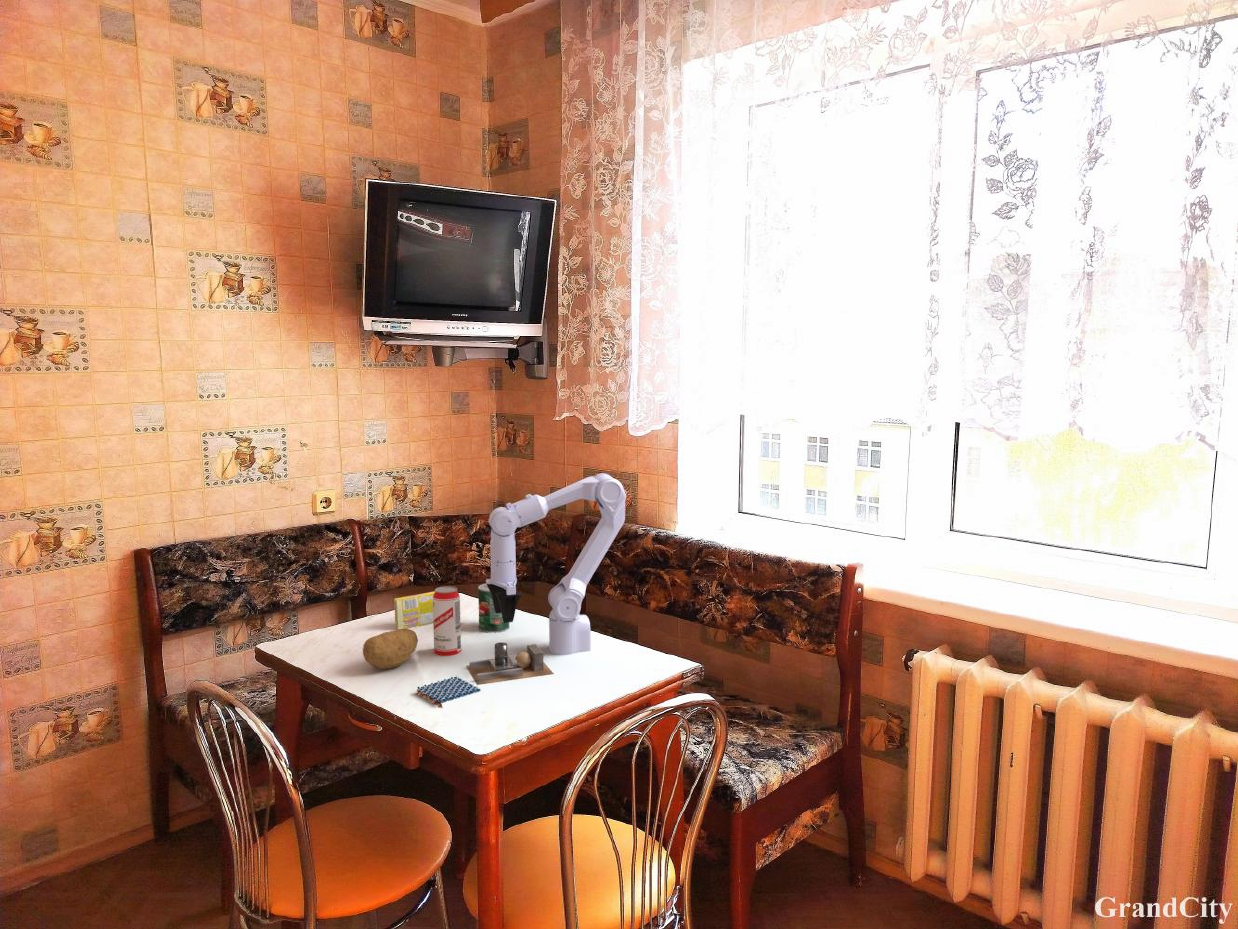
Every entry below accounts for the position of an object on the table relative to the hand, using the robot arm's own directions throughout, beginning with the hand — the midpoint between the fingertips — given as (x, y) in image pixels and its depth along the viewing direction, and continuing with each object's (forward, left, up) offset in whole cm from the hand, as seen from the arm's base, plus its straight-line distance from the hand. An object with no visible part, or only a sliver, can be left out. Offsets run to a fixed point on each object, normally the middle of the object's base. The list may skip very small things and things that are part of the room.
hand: (504, 617), depth 198 cm
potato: (+25, -5, -10) cm, 27 cm away
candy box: (+13, -33, -10) cm, 37 cm away
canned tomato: (-3, -23, -10) cm, 25 cm away
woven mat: (+16, +16, -11) cm, 25 cm away
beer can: (+12, -7, -10) cm, 17 cm away
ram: (+3, +10, -9) cm, 14 cm away
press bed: (+1, +10, -10) cm, 14 cm away
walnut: (-1, +10, -9) cm, 13 cm away
